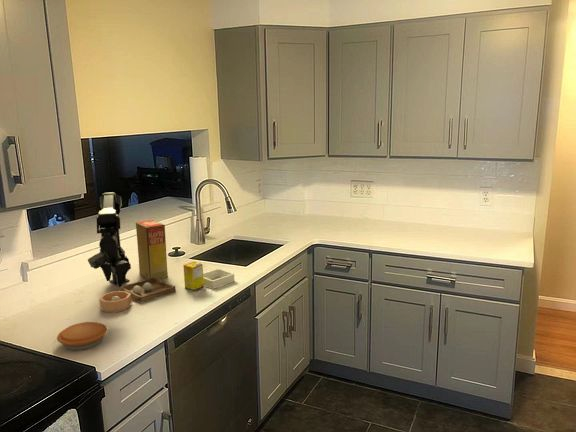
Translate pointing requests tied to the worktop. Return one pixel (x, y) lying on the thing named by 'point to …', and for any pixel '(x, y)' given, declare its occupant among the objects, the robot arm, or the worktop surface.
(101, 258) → the robot arm
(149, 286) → the pebble
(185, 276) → the supplement box
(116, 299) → the pebble
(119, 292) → the bowl
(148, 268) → the food packaging
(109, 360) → the worktop surface
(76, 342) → the pie
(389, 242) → the worktop surface
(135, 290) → the pebble
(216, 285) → the cream holder
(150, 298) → the tray
